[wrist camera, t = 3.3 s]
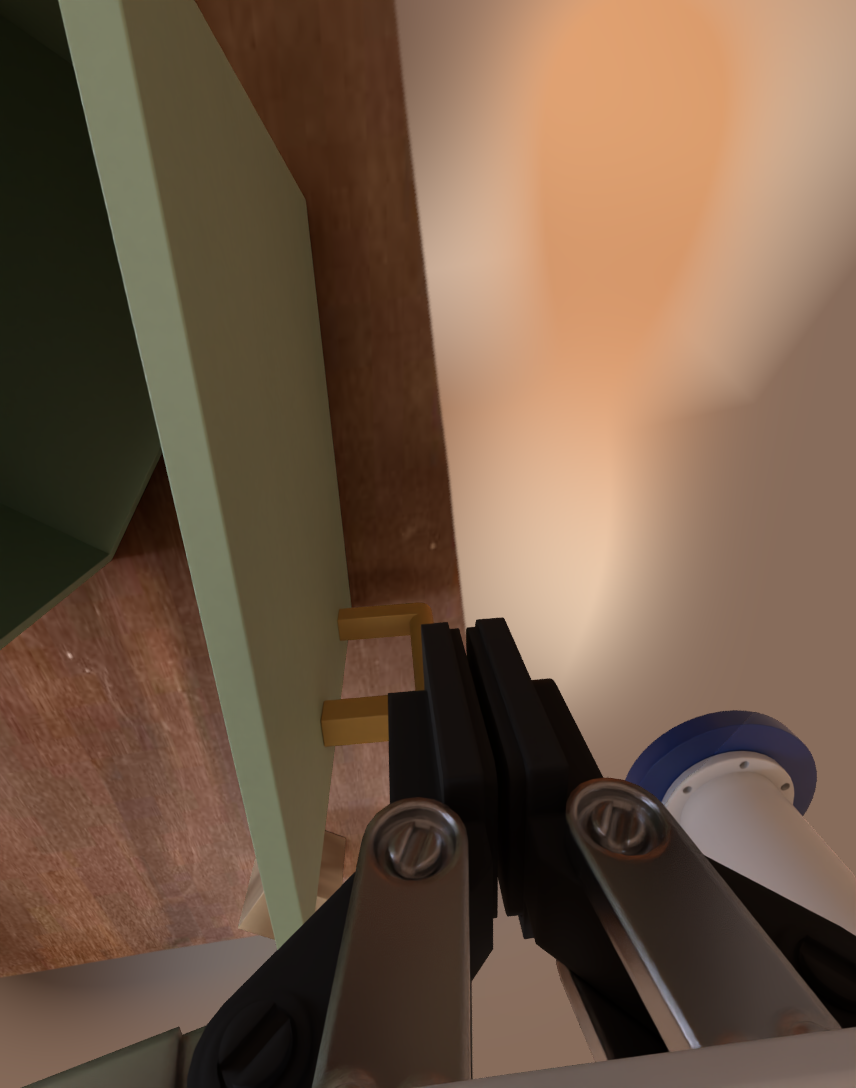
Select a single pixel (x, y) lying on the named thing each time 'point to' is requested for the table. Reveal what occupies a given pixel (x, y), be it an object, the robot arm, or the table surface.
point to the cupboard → (59, 336)
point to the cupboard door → (236, 412)
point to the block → (329, 882)
